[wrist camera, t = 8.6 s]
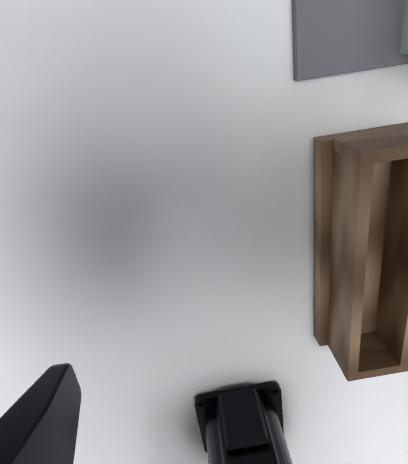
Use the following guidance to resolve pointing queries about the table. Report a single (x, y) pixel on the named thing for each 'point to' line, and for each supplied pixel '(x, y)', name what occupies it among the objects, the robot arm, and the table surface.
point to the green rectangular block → (405, 31)
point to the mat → (346, 36)
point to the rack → (362, 249)
